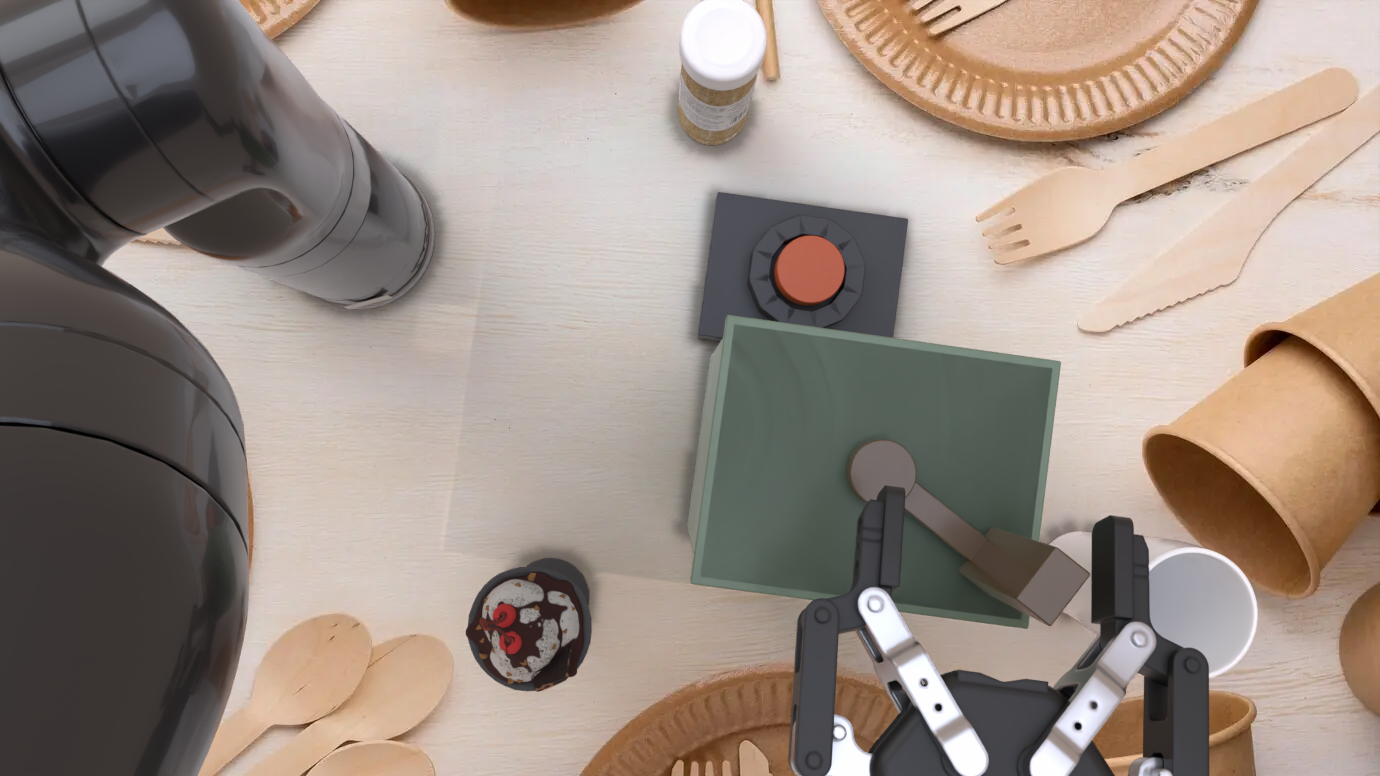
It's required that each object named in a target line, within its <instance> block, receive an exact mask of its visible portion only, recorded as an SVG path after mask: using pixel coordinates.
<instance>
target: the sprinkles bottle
mask: <svg viewBox="0 0 1380 776" xmlns="http://www.w3.org/2000/svg"><path fill="white" fill-rule="evenodd" d="M767 44H768V34H767V29H766V25H765V22H764V20H763V18H762V17H761V15H760V14H759V12H758V11H757V10H756V8H755V7H754V6H753V5H751V4H750V3H749V2H747V1H745V0H701V1H700V2H698V3H697V4H695V5H694V6H693V7H692V8H691V9H690V10H689V12H688V13H687V15H686V16H685V18H684V20H683V22H682V25H681V28H680V33H679V43H678V51H679V58H680V62H681V66H680V67H681V68H680V72H679V84H678V85H679V87H678V91H679V92H678V103H677V104H678V105H677V116H678V120H679V123H680V126H681V128H682V130H683V131H684V132H685V133H686V134H687V135H688V137H690V138H691V139H692V140H694V141H696V142H698V143H700V144H703V145H707V146H716V145H722V144H725V143H726V144H727V143H728V142H730V141H731V140H733V139H734V138H735V137H737V136H738V135H739V133H740V132H741V131H742V130H743V129H744V127H745V124H746V122H747V119H748V111H749V108H750V104H751V101H752V97H753V95H754V91H755V87H756V83H757V79H758V75H759V71H760V69H761V68H762V65H763V63H764V60H765V56H766V51H767Z"/></svg>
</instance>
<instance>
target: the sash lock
mask: <svg viewBox="0 0 1380 776" xmlns="http://www.w3.org/2000/svg"><path fill="white" fill-rule="evenodd" d="M916 474H917V473H916V465H915V462H914V459H913V457H912V456H911V454H910V453H909V451H908V450H907V449H906V448H905V447H903V446H902V445H901V444H899V443H897V442H894V441H891V440H884V439H874V440H870V441H867V442H864V443H863V444H861V445H859V446H858V447H857V448H856V449H855V450H854V451H853V453H852V454H851V456H850V458H849V460H848V463H847V467H846V477H847V481H848V484H849V486H850V488H851V490H852V491H853V493H854V494H855V495H856V496H857V497H858V498H859V499H861V500H862V501H864V502H866V503H868V502H869V500H870V499H873V500H877V496H878V493H879V492H880V491H881V490H882V488H883V487H884V486H885V485H886V486H894V487H902V488H905V511H906V512H907V513H908V514H910V515H911V516H912V517H913V518H915V519H916V520H917V521H918V522H920V523H921V524H922V525H923V526H925V527H926V528H927V529H928V530H930V531H931V532H932V533H933V534H935V535H936V536H937V537H938V538H940V539H941V540H942V541H944V542H945V543H946V544H947V545H949V546H950V547H951V548H952V549H954V550H955V551H956V552H957V553H959V554H960V555H961V556H962V557H964V558H965V559H966V560H965V561H964V563H963V564H962V565H961V567H960V568H959V569H958V571H959V572H960V573H961V574H962V575H964V576H965V577H966V578H967V579H969V580H970V581H971V582H972V583H974V584H975V585H976V586H977V587H979V588H980V589H981V590H982V591H984V592H985V593H987V594H989V595H990V596H992V597H994V598H996V599H998V600H1000V601H1002V602H1004V603H1006V604H1008V605H1010V606H1011V607H1013V608H1015V609H1017V610H1019V611H1021V612H1023V613H1025V614H1027V615H1029V616H1030V618H1032V619H1035V620H1036V621H1039V623H1042V624H1043V625H1045V626H1047V627H1051V626H1053V624H1054V623H1055V622H1056V621H1057V619H1058V618H1059V616H1060V615H1061V614H1062V613H1063V612H1062V611H1063V610H1064V609H1065V607H1066V606H1067V605H1068V603H1069V602H1070V601H1071V600H1072V598H1073V597H1074V596H1075V594H1076V593H1077V592H1078V590H1079V589H1080V588H1081V587H1082V585H1083V584H1084V583H1085V581H1086V580H1087V579H1088V577H1089V576H1090V573H1089V572H1088V571H1087V570H1085V569H1084V568H1083V567H1082V566H1080V565H1079V564H1078V563H1077V562H1075V561H1074V560H1073V559H1072V558H1070V557H1069V556H1068V555H1067V554H1065V553H1064V552H1063V551H1062V550H1060V549H1059V548H1058V547H1055V546H1052V545H1049V544H1048V543H1045V542H1041V541H1040V540H1039V541H1036V540H1032V539H1029V538H1026V537H1023V536H1020V535H1016V534H1013V533H1010V532H1007V531H1004V530H1000V529H997V528H994V527H991V528H990V529H989V530H988V532H987V533H986V534H985V536H983V535H982V534H981V533H980V532H978V531H977V530H976V529H975V528H973V527H972V526H971V525H970V524H968V523H967V522H966V521H965V520H963V519H962V518H961V517H960V516H958V515H957V514H956V513H954V512H953V511H952V510H951V509H949V508H948V507H947V506H946V505H944V504H943V503H942V502H941V501H939V500H938V499H937V498H936V497H934V496H933V495H932V494H931V493H929V492H928V491H927V490H926V489H924V488H923V487H922V486H921V485H919V484H918V483H917V482H916Z"/></svg>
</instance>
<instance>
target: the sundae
mask: <svg viewBox="0 0 1380 776" xmlns="http://www.w3.org/2000/svg"><path fill="white" fill-rule="evenodd" d="M589 606H590V590H589V587H588V583H587V581H586V578H585V577H584V575H583V574H582V572H581V571H580V570H579V569H578V568H577V567H576V566H575V565H573V564H572V563H570V562H568V561H566V560H563V559H560V558H555V557H554V558H553V557H549V558H548V557H547V558H546V557H545V558H540V559H538V560H535V561H532V562H530V563H529V564H527V565H526V566H519V567H515V568H512V569H511V568H510V569H507V570H504V571H502V572H500V573H497V574H496V575H494V576H493V577H492V578H490V579H489V580H488V581H487V582H486V583H485V584H484V585H483V586H482V588H481V589H480V590H479V591H478V592H477V594H476V596H475V598H474V601H473V603H472V605H471V608H470V610H469V613H468V620H467V627H466V629H465V636H466V638H467V641H468V644H469V647H470V651H471V654H472V656H473V658H474V659H475V662H476V663H477V664H478V665H479V667H480V668H481V670H482V671H484V672H485V674H486V675H487V676H488V677H490V678H491V679H492V680H493V681H494V682H496V683H498V684H500V685H502V686H503V687H506V688H509V689H511V690H514V691H521V692H535V693H539V692H543V691H546V690H548V689H551V688H553V687H555V686H557V685H559V684H561V683H564V682H566V681H567V680H568V679H569V678H572V677H575V676H576V675H577V674H578V669H580V666H581V665H582V664H583V663H584V660H585V659H586V656H587V654H588V651H589V648H590V646H591V641H592V629H593V627H592V625H593V624H592V615H591V611H590V607H589Z"/></svg>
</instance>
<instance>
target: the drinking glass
mask: <svg viewBox="0 0 1380 776" xmlns="http://www.w3.org/2000/svg"><path fill="white" fill-rule="evenodd" d="M1144 539H1145V541H1146V544H1147V546H1148V549H1149V598H1150V620H1151V623H1152V626H1153V627H1154V629H1155V630H1156V632H1157V633H1158V634H1159V635H1161V636H1162V637H1164V638H1165V639H1167V640H1169V641H1171V642H1174V643H1176V644H1178V645H1180V646H1182V647H1184V648H1194V649H1197V650H1199V651H1200V652H1201V653H1202V654H1203V655H1204V656H1205V657H1206V659H1207V661H1208V664H1209V679H1213V678H1215V677H1219V676H1221V675H1223V674H1225V673H1226V672H1228V671H1229V670H1231V669H1232V668H1234V667H1235V666H1236V665H1237V664H1238V663H1239V662H1240V661H1242V659H1243V658H1244V657H1245V655H1246V654H1247V653H1248V651H1249V649H1250V648H1251V646H1252V643H1253V641H1254V639H1255V636H1256V632H1257V629H1258V622H1259V612H1258V611H1259V609H1258V608H1259V607H1258V602H1257V597H1256V594H1255V591H1254V588H1253V586H1252V584H1251V582H1250V580H1249V579H1248V577H1247V576H1246V575H1245V573H1244V571H1242V569H1241V568H1240V567H1239V566H1238V565H1237V564H1236V563H1235V562H1233V560H1231V559H1230V558H1228V557H1227V556H1225V555H1223V554H1221V553H1219V552H1217V551H1215V550H1212V549H1208V548H1205V547H1203V546H1199V545H1197V544H1193V543H1190V542H1186V541H1181V540H1178V539H1177V540H1176V539H1173V538H1172V539H1171V538H1165V537H1158V536H1144ZM1048 545H1052V546H1055V547H1058V548H1059V549H1060V550H1062V551H1063V552H1064V553H1065V554H1067V555H1068V556H1069V557H1070V558H1072V559H1073V560H1074V561H1075V562H1077V563H1078V564H1079V565H1080V566H1082V567H1083V568H1084V569H1085V570H1087V571H1088V572H1089V573H1090V576H1089V577H1088V579H1087V580H1086V581H1085V583H1084V584H1083V585H1082V587H1081V588H1080V589H1079V590H1078V592H1077V593H1076V594H1075V596H1074V597H1073V598H1072V600H1071V601H1070V602H1069V603H1068V605H1067V606H1066V607H1065V609H1064V610H1063V611H1062V613H1064V614H1066V615H1068V616H1069V617H1071V618H1073V619H1074V620H1075V621H1076V622H1078V623H1079V624H1080V625H1082V626H1084V627H1085V628H1086V629H1088V630H1089V631H1090V632H1092V633H1093V634H1094V635H1096V636H1097V635H1098V634H1099V633H1100V624H1093V623H1091V566H1092V531H1084V530H1083V531H1082V530H1079V531H1078V530H1076V531H1070V532H1067V533H1064V534H1061V535H1059V536H1057V537H1056V538H1055V539H1053V540H1052V541H1051V542H1050V543H1049V544H1048Z"/></svg>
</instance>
